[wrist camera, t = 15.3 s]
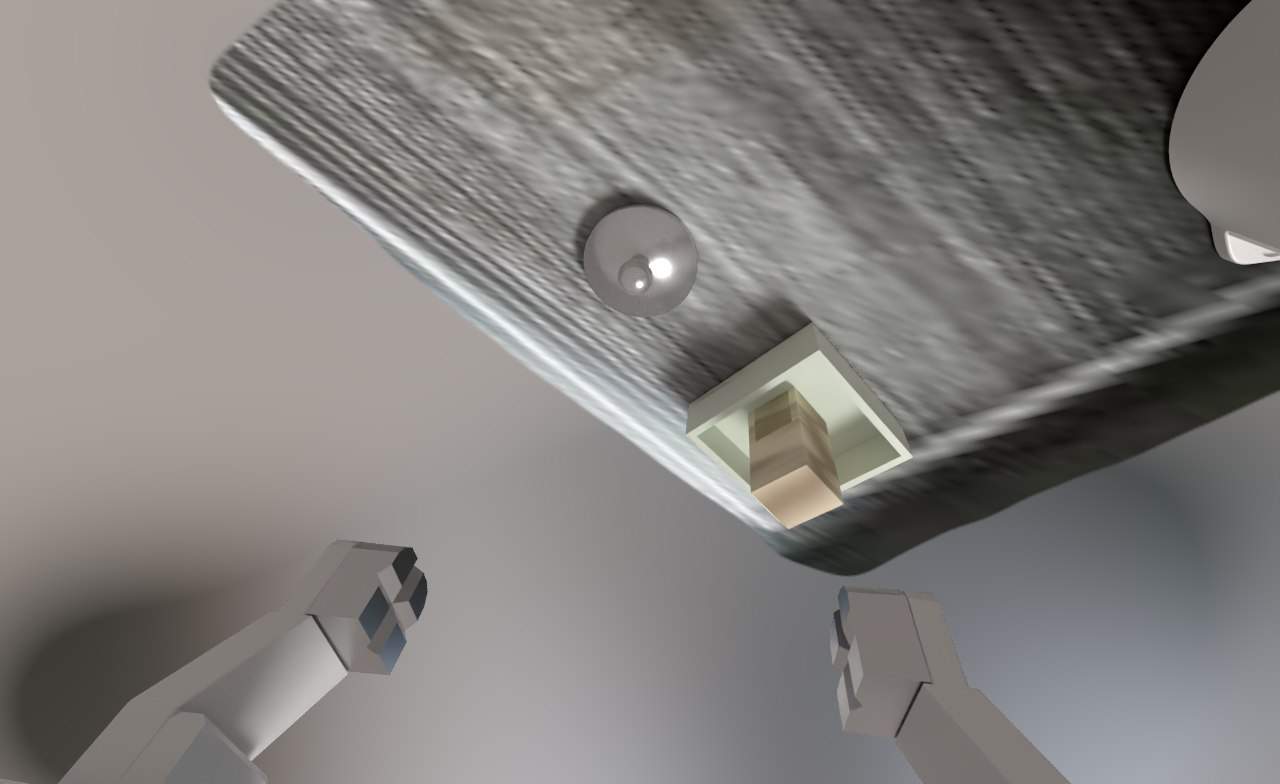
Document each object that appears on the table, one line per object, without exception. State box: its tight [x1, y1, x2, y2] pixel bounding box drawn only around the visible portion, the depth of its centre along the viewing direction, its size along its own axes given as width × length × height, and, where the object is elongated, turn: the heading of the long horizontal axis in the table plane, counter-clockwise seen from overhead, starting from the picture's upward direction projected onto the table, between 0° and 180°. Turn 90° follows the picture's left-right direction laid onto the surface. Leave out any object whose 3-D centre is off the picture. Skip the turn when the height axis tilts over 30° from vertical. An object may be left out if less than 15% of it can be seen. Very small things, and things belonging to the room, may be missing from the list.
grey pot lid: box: [584, 204, 698, 317], centre depth 38 cm, size 8×8×4 cm
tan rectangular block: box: [748, 387, 844, 529], centre depth 41 cm, size 4×4×9 cm
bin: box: [686, 322, 913, 522], centre depth 44 cm, size 12×12×4 cm
